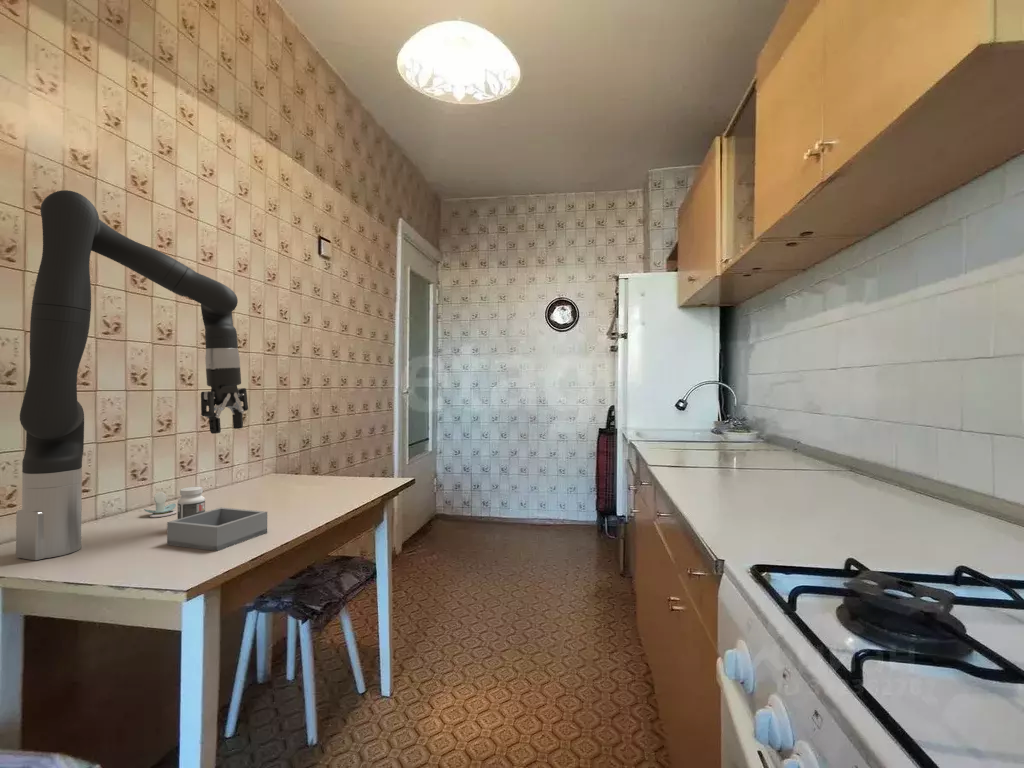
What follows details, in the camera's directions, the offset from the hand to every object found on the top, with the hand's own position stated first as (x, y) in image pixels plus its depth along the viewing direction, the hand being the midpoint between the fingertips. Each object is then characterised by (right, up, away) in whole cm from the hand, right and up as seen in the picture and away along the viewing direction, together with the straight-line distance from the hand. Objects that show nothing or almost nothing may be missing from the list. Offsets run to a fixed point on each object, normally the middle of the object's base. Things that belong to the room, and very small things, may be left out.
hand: (227, 430), depth 126 cm
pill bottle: (-6, -24, -4) cm, 25 cm away
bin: (+5, -24, -12) cm, 27 cm away
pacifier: (-23, -24, +9) cm, 34 cm away
